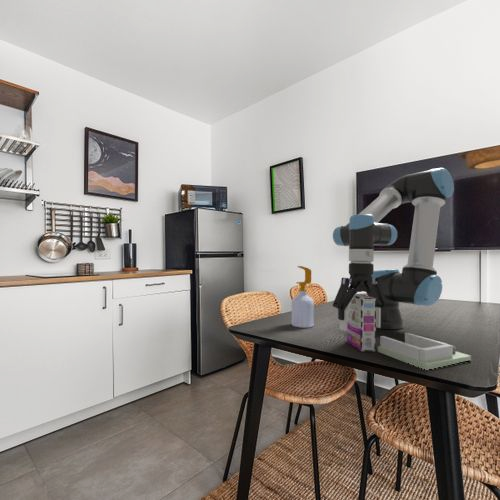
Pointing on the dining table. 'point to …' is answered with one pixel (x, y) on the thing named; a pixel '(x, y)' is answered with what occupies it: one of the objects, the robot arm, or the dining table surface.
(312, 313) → the soap bottle
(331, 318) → the dining table surface
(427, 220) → the robot arm
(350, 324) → the candy bar box
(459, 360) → the white open tray
